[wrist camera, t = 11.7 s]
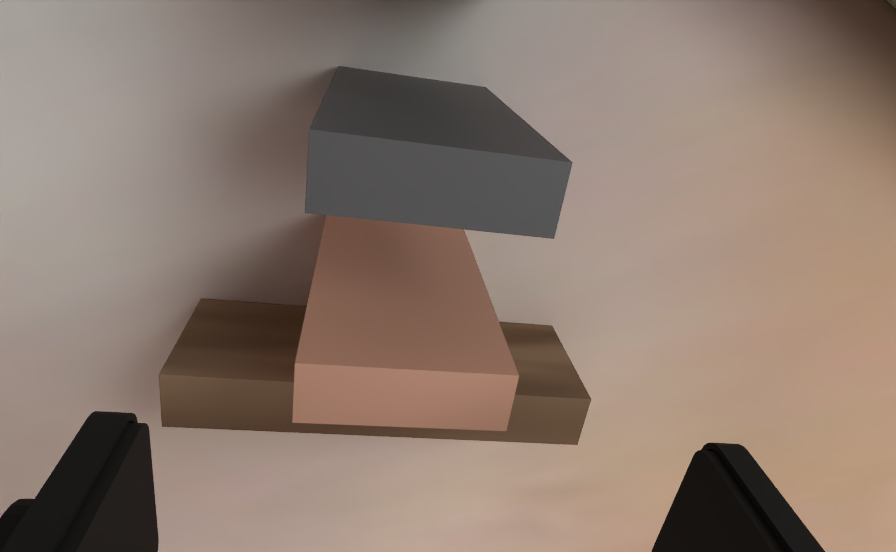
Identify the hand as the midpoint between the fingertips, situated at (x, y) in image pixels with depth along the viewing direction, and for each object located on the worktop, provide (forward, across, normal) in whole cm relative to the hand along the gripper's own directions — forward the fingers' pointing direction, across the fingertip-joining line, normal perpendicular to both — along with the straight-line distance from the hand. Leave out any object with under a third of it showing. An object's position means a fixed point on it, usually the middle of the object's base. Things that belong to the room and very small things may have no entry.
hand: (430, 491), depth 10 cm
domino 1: (+14, 0, -4) cm, 14 cm away
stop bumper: (+13, 0, +5) cm, 14 cm away
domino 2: (+13, 0, +1) cm, 13 cm away
